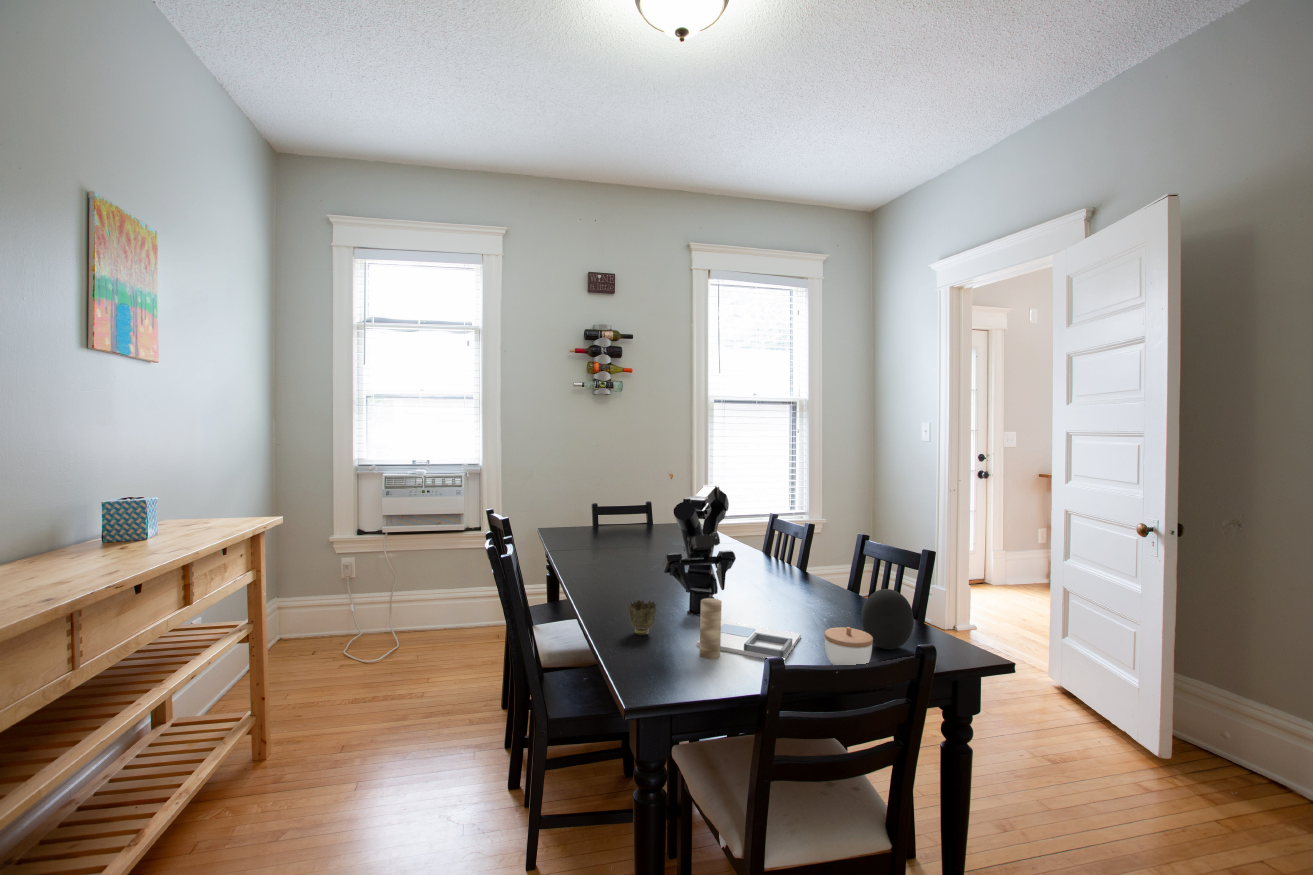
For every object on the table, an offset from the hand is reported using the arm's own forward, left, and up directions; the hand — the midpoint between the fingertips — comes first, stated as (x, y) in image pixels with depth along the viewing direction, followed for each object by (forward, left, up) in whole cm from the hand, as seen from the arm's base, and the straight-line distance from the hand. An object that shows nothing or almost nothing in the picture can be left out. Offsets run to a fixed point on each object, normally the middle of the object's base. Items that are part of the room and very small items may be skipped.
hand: (706, 590), depth 154 cm
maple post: (+4, -7, -13) cm, 16 cm away
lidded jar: (+35, +1, -14) cm, 37 cm away
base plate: (+10, +7, -13) cm, 18 cm away
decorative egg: (+42, +19, -14) cm, 48 cm away
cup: (-17, -2, -14) cm, 22 cm away
